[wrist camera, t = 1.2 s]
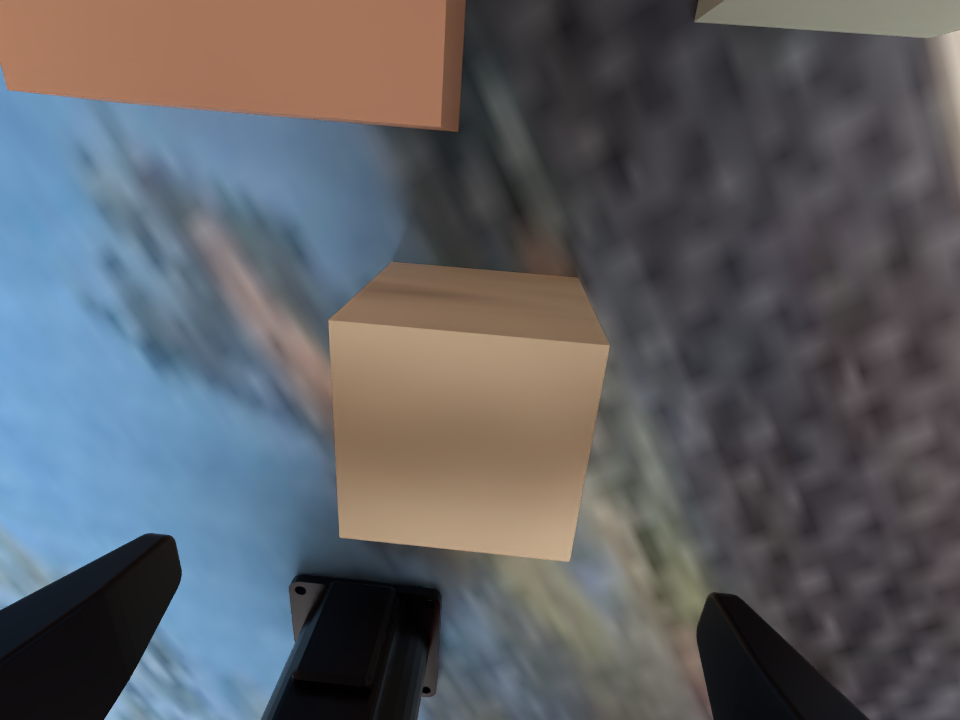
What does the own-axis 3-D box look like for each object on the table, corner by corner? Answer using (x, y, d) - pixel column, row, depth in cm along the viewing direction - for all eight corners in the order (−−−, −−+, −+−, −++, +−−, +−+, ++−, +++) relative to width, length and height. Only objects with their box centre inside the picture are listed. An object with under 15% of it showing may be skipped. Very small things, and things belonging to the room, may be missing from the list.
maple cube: (553, 437, 18) (569, 561, 13) (392, 421, 19) (339, 537, 13) (577, 277, 16) (610, 345, 11) (392, 261, 16) (328, 320, 11)
